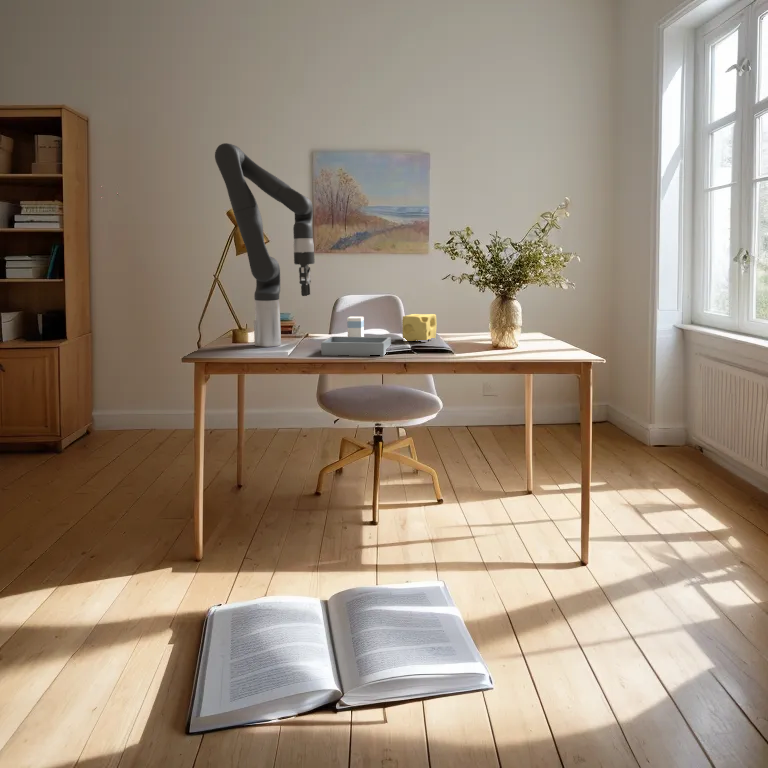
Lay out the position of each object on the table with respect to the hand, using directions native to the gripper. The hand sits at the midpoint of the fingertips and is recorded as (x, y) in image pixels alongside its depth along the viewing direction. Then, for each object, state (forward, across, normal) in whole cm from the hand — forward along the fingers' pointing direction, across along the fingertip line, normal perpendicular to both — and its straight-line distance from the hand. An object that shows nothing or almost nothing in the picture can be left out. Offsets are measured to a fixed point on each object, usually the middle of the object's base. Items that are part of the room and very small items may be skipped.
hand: (305, 295), depth 304 cm
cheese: (+19, -13, +42) cm, 48 cm away
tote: (+20, +16, +19) cm, 32 cm away
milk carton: (+19, +3, +18) cm, 27 cm away
